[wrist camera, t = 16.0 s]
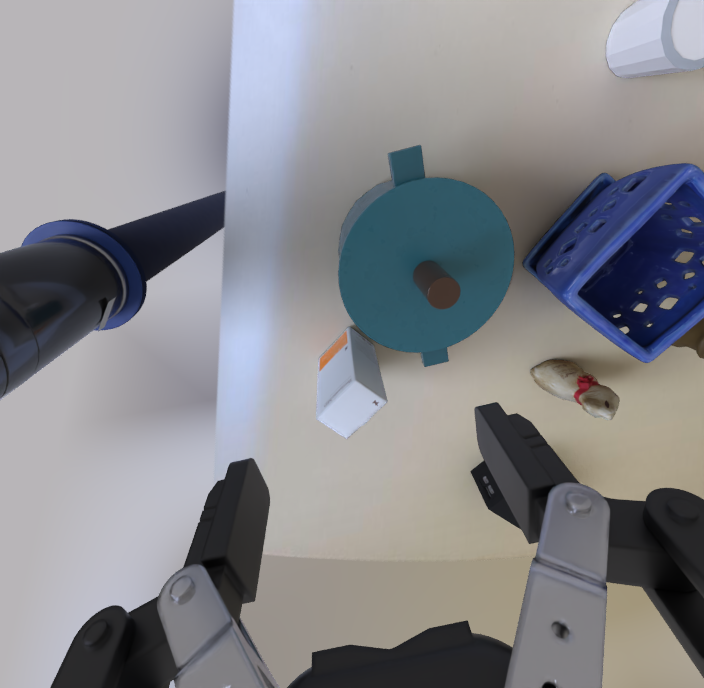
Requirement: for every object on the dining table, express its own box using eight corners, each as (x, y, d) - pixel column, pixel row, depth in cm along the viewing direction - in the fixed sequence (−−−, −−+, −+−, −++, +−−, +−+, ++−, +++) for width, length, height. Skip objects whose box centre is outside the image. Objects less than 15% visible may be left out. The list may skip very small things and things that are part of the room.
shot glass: (674, -28, 31) (762, -75, 25) (677, 63, 34) (756, 42, 28) (593, 15, 32) (659, -20, 26) (603, 100, 35) (664, 87, 29)
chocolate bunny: (559, 401, 51) (609, 452, 42) (524, 373, 49) (570, 421, 40) (592, 374, 50) (650, 422, 41) (558, 344, 47) (612, 387, 38)
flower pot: (591, 154, 37) (699, 153, 26) (663, 230, 41) (781, 255, 31) (499, 262, 41) (559, 298, 31) (572, 321, 46) (648, 370, 35)
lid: (359, 362, 35) (365, 399, 29) (317, 204, 28) (316, 214, 23) (511, 326, 34) (545, 356, 29) (505, 155, 27) (548, 154, 22)
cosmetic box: (348, 324, 44) (356, 378, 33) (374, 344, 45) (390, 402, 34) (316, 358, 45) (314, 420, 35) (342, 377, 47) (347, 441, 36)
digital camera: (538, 478, 58) (563, 517, 52) (511, 498, 60) (533, 537, 54) (497, 449, 55) (519, 486, 48) (470, 471, 56) (488, 510, 50)
